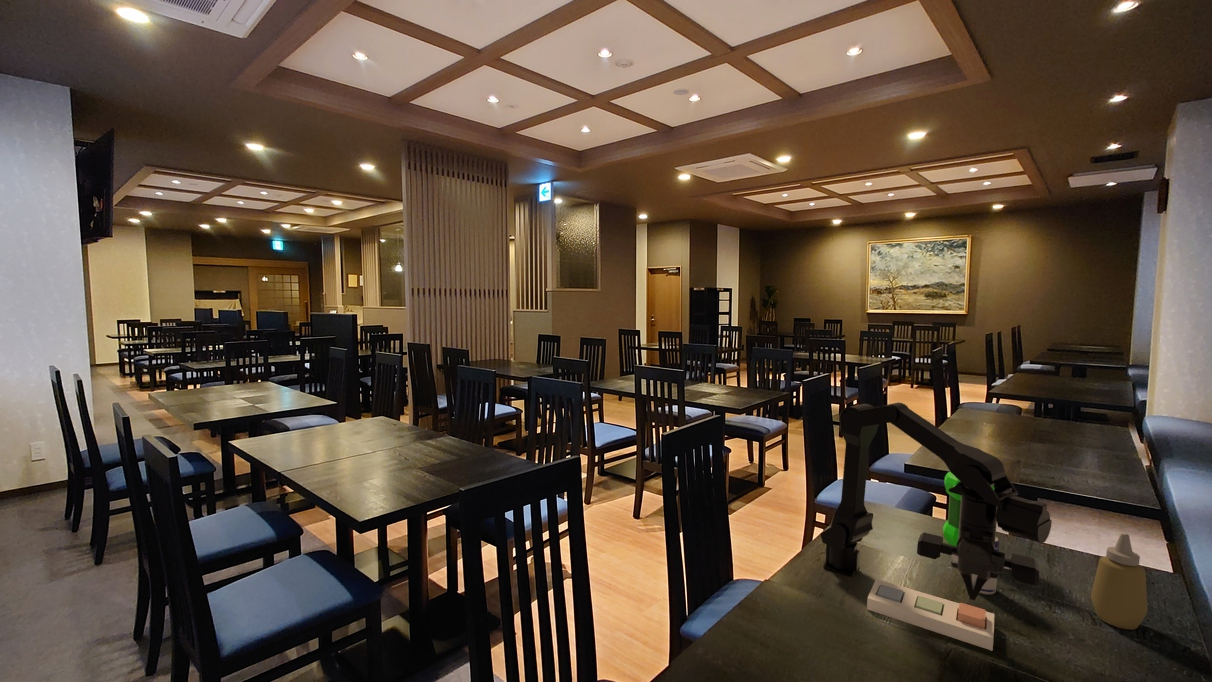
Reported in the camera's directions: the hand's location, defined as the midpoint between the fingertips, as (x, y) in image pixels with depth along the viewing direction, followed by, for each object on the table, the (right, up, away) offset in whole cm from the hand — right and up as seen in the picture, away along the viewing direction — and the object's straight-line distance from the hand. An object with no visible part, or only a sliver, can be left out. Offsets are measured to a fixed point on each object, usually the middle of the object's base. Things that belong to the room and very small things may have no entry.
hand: (972, 599), depth 101 cm
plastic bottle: (+21, -3, +33) cm, 39 cm away
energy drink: (+12, -5, +15) cm, 20 cm away
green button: (-6, -5, +5) cm, 9 cm away
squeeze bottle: (+31, -6, +3) cm, 32 cm away
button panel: (-6, -6, +5) cm, 9 cm away
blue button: (-11, -5, +9) cm, 15 cm away
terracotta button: (0, -4, 0) cm, 4 cm away
